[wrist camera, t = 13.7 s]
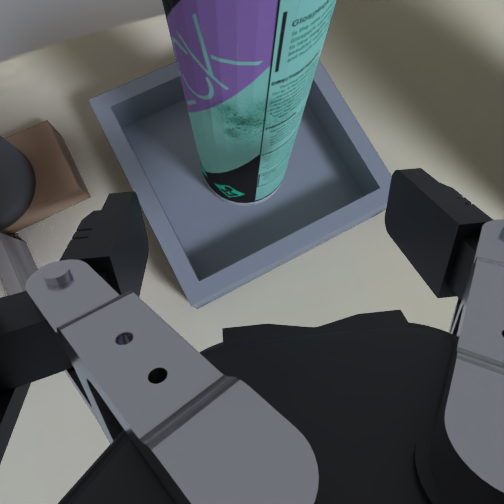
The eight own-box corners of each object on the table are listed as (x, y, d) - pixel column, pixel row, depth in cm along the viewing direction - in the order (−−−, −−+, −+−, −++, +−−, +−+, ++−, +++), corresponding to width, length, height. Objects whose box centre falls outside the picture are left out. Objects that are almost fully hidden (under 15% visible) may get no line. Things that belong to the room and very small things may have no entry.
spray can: (241, 113, 26) (250, -522, 7) (301, 165, 26) (507, -365, 6) (185, 168, 25) (-1, -381, 6) (245, 223, 25) (273, -178, 5)
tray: (283, 50, 28) (289, 11, 25) (381, 211, 26) (403, 194, 23) (107, 129, 27) (88, 100, 23) (197, 308, 25) (191, 306, 21)
